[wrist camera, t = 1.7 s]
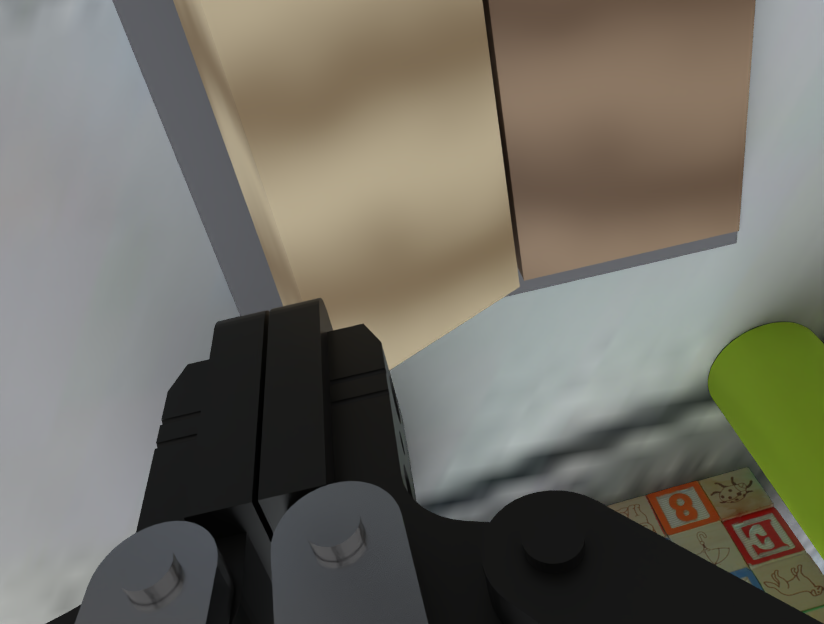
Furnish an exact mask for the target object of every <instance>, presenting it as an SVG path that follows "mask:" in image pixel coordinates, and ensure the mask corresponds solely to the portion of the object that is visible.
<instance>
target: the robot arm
mask: <svg viewBox="0 0 824 624" xmlns="http://www.w3.org/2000/svg"><path fill="white" fill-rule="evenodd" d="M162 423H163V425H160V429H159V433H158V438H157V442H156V443H157V449H155V451H154V455H153V460H152V464H151V469H150V473H149V478H148V482H147V486H146V491H145V495H144V500H143V504H142V509H141V513H140V518H139V522H138V526H137V531H136V533H135V534H133V535H132V536H130V537H129V538H127V539H126V540H124V541H123V542H122V543H120V544H119V545H118V546H117V547H115V548H114V549H113V550H112V551H111V552H110V553H109V554H108V555H107V556H106V557H105V559H104V560H103V561H102V562H101V564H100V565H99V566H98V568H97V569H96V571H95V572H94V574H93V576H92V578H91V580H90V582H89V585H88V587H87V590H86V593H85V595H84V598H83V601H82V604H81V605H79V606H78V607H76V608H74V609H73V610H71V611H69V612H67V613H65V614H63V615H62V616H60V617H58V618H56V619H54V620H52V621H50V622H48V623H46V624H824V623H822V622H820V621H818V620H816V619H814V618H813V617H811V616H809V615H807V614H805V613H803V612H801V611H800V610H798V609H796V608H794V607H792V606H790V605H788V604H787V603H785V602H783V601H781V600H779V599H777V598H776V597H774V596H772V595H770V594H768V593H766V592H764V591H763V590H761V589H759V588H757V587H755V586H753V585H752V584H750V583H748V582H746V581H744V580H742V579H740V578H739V577H737V576H735V575H733V574H731V573H729V572H727V571H726V570H724V569H722V568H720V567H718V566H716V565H715V564H713V563H711V562H709V561H707V560H705V559H703V558H702V557H700V556H698V555H696V554H694V553H692V552H690V551H689V550H687V549H685V548H683V547H681V546H679V545H678V544H676V543H674V542H672V541H670V540H668V539H666V538H665V537H663V536H661V535H659V534H657V533H655V532H653V531H652V530H650V529H648V528H646V527H644V526H642V525H641V524H639V523H637V522H635V521H633V520H631V519H629V518H628V517H626V516H624V515H622V514H620V513H618V512H616V511H615V510H613V509H611V508H609V507H607V506H605V505H604V504H602V503H600V502H598V501H596V500H594V499H592V498H589V497H587V496H585V495H581V494H578V493H574V492H568V491H542V492H536V493H532V494H529V495H525V496H523V497H521V498H519V499H516V500H514V501H513V502H511V503H510V504H508V505H506V506H505V507H504V508H503V509H502V510H500V511H499V512H498V513H497V514H496V515H495V517H494V518H493V519H492V520H491V522H475V521H461V520H453V519H449V518H445V517H441V516H439V515H436V514H434V513H432V512H430V511H428V510H426V509H425V508H423V507H422V506H420V505H419V504H418V503H417V502H416V496H415V490H414V484H413V478H412V473H411V466H410V460H409V454H408V450H407V442H406V436H405V430H404V424H403V419H402V415H401V412H400V408H399V404H398V401H397V397H396V394H395V390H394V386H393V383H392V379H391V375H390V372H389V368H388V365H387V361H386V357H385V354H384V350H383V346H382V343H381V341H380V340H379V339H378V338H377V337H376V336H375V335H374V334H373V333H372V332H371V331H370V330H369V329H368V328H367V327H366V326H365V325H364V323H363V324H359V325H354V326H350V327H346V328H342V329H337V330H333V328H332V325H331V322H330V319H329V315H328V312H327V309H326V307H325V304H324V302H323V300H322V298H316V299H312V300H308V301H303V302H299V303H295V304H290V305H286V306H282V307H278V308H273V309H271V310H270V311H268V310H265V311H261V312H257V313H253V314H248V315H244V316H240V317H235V318H231V319H227V320H223V321H218V322H217V323H216V325H215V328H214V334H213V340H212V346H211V352H210V359H209V360H205V361H200V362H196V363H192V364H188V365H187V366H186V367H185V369H184V370H183V372H182V373H181V374H180V376H179V377H178V379H177V380H176V381H175V383H174V384H173V385H172V387H171V388H170V390H169V391H168V393H167V398H166V402H165V407H164V411H163V415H162Z"/></svg>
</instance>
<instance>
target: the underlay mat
mask: <svg viewBox="0 0 824 624" xmlns="http://www.w3.org/2000/svg"><path fill="white" fill-rule="evenodd" d="M113 3H114V5H115V8H116V10H117V13H118V15H119V18H120V20H121V22H122V25H123V27H124V30H125V32H126V35H127V37H128V40H129V42H130V45H131V47H132V50H133V52H134V54H135V57H136V59H137V62H138V64H139V67H140V69H141V72H142V74H143V77H144V79H145V82H146V84H147V87H148V89H149V91H150V94H151V96H152V99H153V101H154V104H155V106H156V109H157V111H158V114H159V116H160V119H161V121H162V124H163V126H164V128H165V131H166V133H167V136H168V138H169V141H170V143H171V146H172V148H173V151H174V153H175V156H176V158H177V161H178V163H179V165H180V168H181V170H182V173H183V175H184V178H185V180H186V183H187V185H188V188H189V190H190V193H191V195H192V198H193V200H194V202H195V205H196V207H197V210H198V212H199V215H200V217H201V220H202V222H203V225H204V227H205V230H206V232H207V234H208V237H209V239H210V242H211V244H212V247H213V249H214V252H215V254H216V257H217V259H218V262H219V264H220V267H221V269H222V271H223V274H224V276H225V279H226V281H227V284H228V286H229V289H230V291H231V294H232V296H233V299H234V301H235V304H236V306H237V308H238V311H239V313H240V316H244V315H248V314H253V313H257V312H261V311H265V310H268V311H270V310H271V309H273V308H278V307H282V306H283V304H282V301H281V298H280V296H279V293H278V290H277V287H276V284H275V282H274V279H273V276H272V273H271V271H270V268H269V265H268V262H267V260H266V257H265V254H264V251H263V248H262V246H261V243H260V240H259V237H258V235H257V232H256V229H255V226H254V223H253V221H252V218H251V215H250V212H249V210H248V207H247V204H246V201H245V199H244V196H243V193H242V190H241V187H240V185H239V182H238V179H237V176H236V174H235V171H234V168H233V165H232V162H231V160H230V157H229V154H228V151H227V149H226V146H225V143H224V140H223V138H222V135H221V132H220V129H219V126H218V124H217V121H216V118H215V115H214V113H213V110H212V107H211V104H210V101H209V99H208V96H207V93H206V90H205V88H204V85H203V82H202V79H201V77H200V74H199V71H198V68H197V65H196V63H195V60H194V57H193V54H192V52H191V49H190V46H189V43H188V40H187V38H186V35H185V32H184V29H183V27H182V24H181V21H180V18H179V16H178V13H177V10H176V7H175V4H174V2H173V0H113ZM734 243H737V231H736V232H732V233H727V234H723V235H719V236H714V237H710V238H706V239H702V240H697V241H693V242H689V243H684V244H680V245H676V246H671V247H667V248H663V249H659V250H654V251H650V252H646V253H641V254H637V255H633V256H628V257H624V258H620V259H616V260H611V261H607V262H603V263H598V264H594V265H590V266H585V267H581V268H577V269H573V270H568V271H564V272H560V273H555V274H551V275H547V276H542V277H538V278H534V279H530V280H525V281H524V280H523V278H522V276H521V273H520V271H519V269H518V267H517V269H518V277H519V284H520V287H519V288H517V289H516V290H514V291H513V292H511V293H509V294H508V295H506V296H511V295H515V294H519V293H523V292H528V291H532V290H536V289H541V288H545V287H549V286H554V285H558V284H562V283H566V282H571V281H575V280H579V279H584V278H588V277H592V276H597V275H601V274H605V273H610V272H614V271H618V270H622V269H627V268H631V267H635V266H640V265H644V264H648V263H653V262H657V261H661V260H665V259H670V258H674V257H678V256H683V255H687V254H691V253H696V252H700V251H704V250H708V249H713V248H717V247H721V246H726V245H730V244H734ZM506 296H505V297H506Z"/></svg>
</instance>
